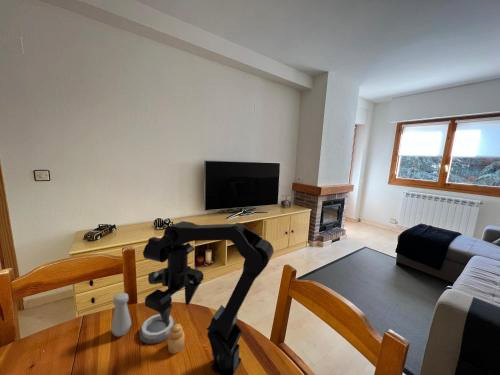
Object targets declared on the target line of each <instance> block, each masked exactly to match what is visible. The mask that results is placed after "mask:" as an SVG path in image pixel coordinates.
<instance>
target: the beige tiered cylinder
mask: <svg viewBox="0 0 500 375" xmlns="http://www.w3.org/2000/svg"><path fill="white" fill-rule="evenodd" d="M183 329H184V328H183V326H182V325H181V324H180V323H175V325H173V326H172V328H171V330H170V334H169V335H168V339H167V351H168V352H169V353H170V354H173V355H175V354H179V353H181V352H182V351H183V349H184V348H185V331H184V330H183Z"/></svg>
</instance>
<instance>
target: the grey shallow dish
mask: <svg viewBox="0 0 500 375" xmlns="http://www.w3.org/2000/svg"><path fill="white" fill-rule="evenodd" d="M175 324H176V322H175V320H174V319H173V317H172V316H171V315H170V316H169V320H168V322H167V324H166V323H164V322H163V320H162V318H161V316H160V313H158V314H155V315H152V316H150V317H149V318H147V319H146V320H144V322H143V324H142V326H141V328H140V329H139V339H140V340H141V342H143V344H147V345H155V344H156V345H157V344H160V343H162V342H165V341H168V335H169V334H170V330H171V328H172V326H173V325H175Z"/></svg>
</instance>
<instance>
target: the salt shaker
mask: <svg viewBox="0 0 500 375" xmlns="http://www.w3.org/2000/svg"><path fill="white" fill-rule="evenodd" d="M112 300H113V301H112V303H113V306H114V312H113V315H112V320H111V327H110V331H111V333H112V334H113V336H115V337H117V338H121V337H123V336H125V335H126V334H127V333H128V332H129V331H130V328H131V326H132V318H131V315H130V312H129V307H128V302H129V294H128V293H126V292H120V293H118V294H116V295H114V297H113V299H112Z"/></svg>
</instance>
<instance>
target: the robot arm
mask: <svg viewBox="0 0 500 375" xmlns="http://www.w3.org/2000/svg"><path fill="white" fill-rule="evenodd" d="M147 240H148V242H147V243H146V245H145V246H144V249H143V252H142V255H143V258H144V259H146V260H150V261H153V262H154V261H155V262H159V263H165V262H166V261H167V267H164V268H161V269H159V270H157V271H152V272H149V273H148V277H147V278H148V283H149V285H157V284H159V285H160V284H161V285H162V287H167V289H166V290H161V289H159V288H157V289H156V290H154V291H153V292H151V293H149V294H147V296H145V297H144V307H147V308H149V309H152V310H153V311H156V312H158V314H160V316H161V318H162V320H163V322H164V323H166V324H167V322H168V320H169V316H171V310H172V308H173V304H171V303H172V296H174V295H175V294H177V293H178V292H180V291H181V290H182V289H183V288H184V302H185V305H186V306H189V305H190V303H191V301H192V300H193V297H194V296H195V294H196V291H197V289H198V288H199V286H200V285H201V284H202V282H203V281H204V277H205V276H204V273H203V272H202V270H198V269H196V268H193V267H191V266H190V265H188V264H189V261H188V260H189V258H188V255H189V254H190V253H192V252H194V251H195V246H193V245H192V244H191V243H190V242H194V241H195V242H197V241H199V242H201V241H202V242H203V241H230V242H231V243H232V244H233V246H234V247H235V249H236V250H237V251H238V253H239V255H240V256H241V257H243V258H244V261H243V265H242V266H243V268H242V271H241V272H242V273H241V275H240V277H239V278H238V280H237V283H236V285H235V287H234V289H233V291H232V293H231V295H230V297H229V299H228V301H227V303H226V305H225V307H224V306H223V305H222V304H221V305H219V306H220V307H219V308H218V309H217V311H216V312H215V313H214V315H213V317H212V318H211V321H210V323H209V325H208V326H207V328H206V331H207V334H206V337H207V338H208V340H209V343H210V347H211V351H212V355H213V358H212V360H213V364H212V365H211V371H214V372H215V373H217V374H220V375H235V373H236V371H237V370H238V368H239V366H240V364H241V362H242V358H241V357H240V344H238V342H239V340H240V338H241V335H242V333H243V330H242V329H241V328H240V327H239V324H237V320H238V313H239V311H240V309H241V307H242V305H243V303H244V302H245V299H246V297H247V295H248V293H249V291H250V289H251V287H252V286H253V284H254V282H255V280H256V279H257V278H258V277H259V276H260V275H261V273H262V272H263V271H264V270H265V269H266V267H267V266H268V264H269V263H270V261H271V258H272V257H273V254H274V251H275V250H274V247H273V244H271V242H270V241H268V240H267V239H263V237H261V236H260V235H259V234H258V233H257V232H254V231H252V230H251V229H250V228H249V229H248V227H246V226H245V225H244V224H243V223H241V222H235V223H221V224H220V223H219V224H217V223H216V224H197V223H194V222H190V221H183V220H182V221H180V222H176V223H174V224H171V225H169V226H167V227H166V228H165V229H164V232H163V235H162V237H161V238H159V237H156V236H152V237H150V238H148V239H147Z"/></svg>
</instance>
